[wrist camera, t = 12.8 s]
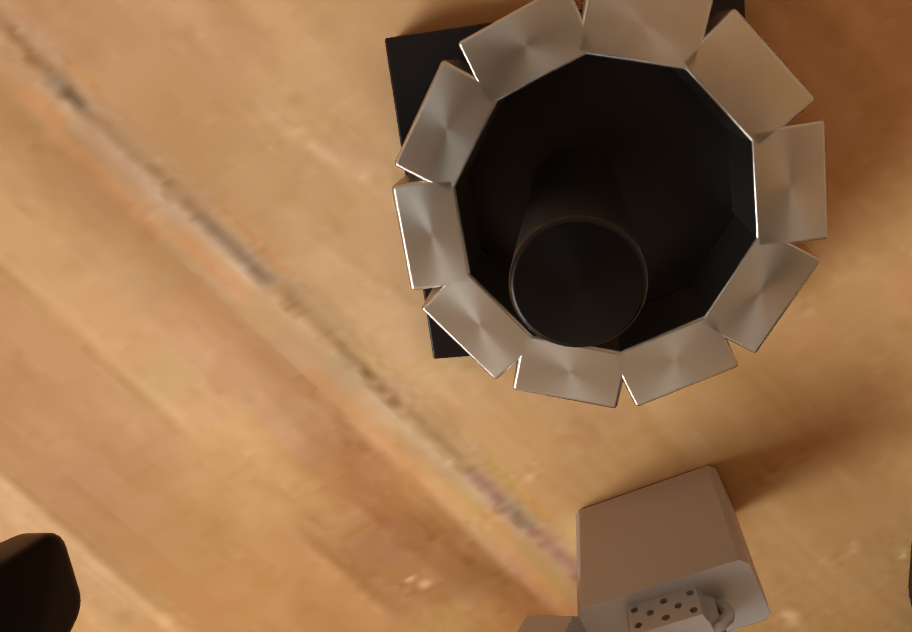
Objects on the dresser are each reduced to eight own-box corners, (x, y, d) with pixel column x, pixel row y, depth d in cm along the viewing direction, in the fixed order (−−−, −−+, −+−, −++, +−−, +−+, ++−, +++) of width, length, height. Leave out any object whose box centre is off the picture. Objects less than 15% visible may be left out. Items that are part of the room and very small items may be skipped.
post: (735, -13, 18) (882, -63, 10) (744, 321, 21) (868, 513, 12) (393, 38, 19) (258, 33, 11) (439, 346, 22) (358, 535, 13)
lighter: (713, 463, 22) (789, 682, 14) (736, 514, 22) (821, 753, 15) (481, 544, 24) (440, 776, 16) (506, 590, 24) (477, 837, 17)
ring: (786, -51, 17) (820, -66, 15) (802, 349, 20) (833, 388, 17) (384, 24, 18) (359, 21, 16) (450, 385, 21) (436, 426, 19)
